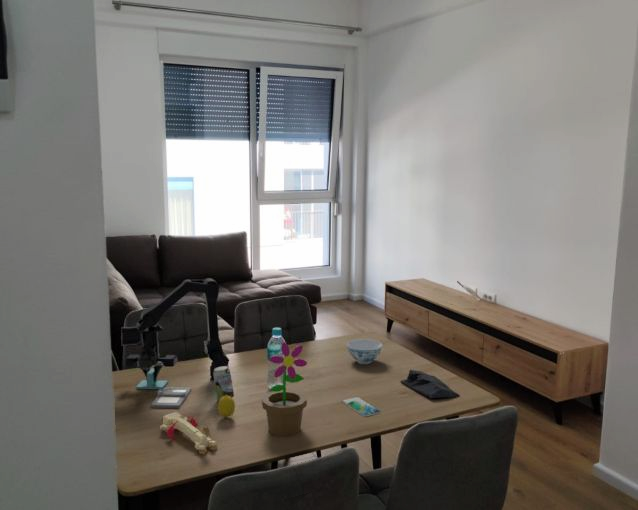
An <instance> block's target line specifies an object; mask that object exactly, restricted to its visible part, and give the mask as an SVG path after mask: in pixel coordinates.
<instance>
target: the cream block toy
mask: <svg viewBox="0 0 638 510" xmlns="http://www.w3.org/2000/svg"><path fill="white" fill-rule="evenodd" d="M189 419H190V420H189ZM188 420H189V421H188ZM161 421H162V425H159V427H160V428H159V429H160V430H163V431H164V432H165V433H166V434H167V436H168V437H170V439H172V440H174V439H175V436H174V432H175V430H177V431H180V432H181V433H182V434H184V435H186V436H187V437H188V438H190V440H191V441H192V442H193V443H194V448H195V449H196V450H197V451H198V453H199V454H200V455H206V453H207V451H208V449H207V448H208V447H209V450H210V451H216V449H217V448H218V444H217V443H216V442H217V441H216V440H213V439H211V438H210V437H211V433H210V432H211V431H210V429H209V426H208V425H204V426H203V427H202V430H203V432H204V434H203V433H202V432H201V430H199V429H198V428H197V427H198V423H197V422H196V421H197V420H196V418H194V417H192V416H191V417H190V416H188V417H187V416H185V417H183V415H182V414H180V413H179V412H178V411H174V412H171V413H169V414H168V413H167V414H165V415H163V416H162V418H161Z"/></svg>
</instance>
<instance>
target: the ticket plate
mask: <svg viewBox="0 0 638 510" xmlns="http://www.w3.org/2000/svg"><path fill="white" fill-rule="evenodd" d="M191 391H192V387H172V386H171V387H169V386H168V387H166V386H165V387H164V388H163V389H158V390H157V396H156V397H155V399H154V400H153V401H152V403H150V409H151V408H153V409H159V408H160V409H180V408H181V406H182V405H183V403H184V402H185V401H186V399H187V398H188V395H189V394H190V393H191Z"/></svg>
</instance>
